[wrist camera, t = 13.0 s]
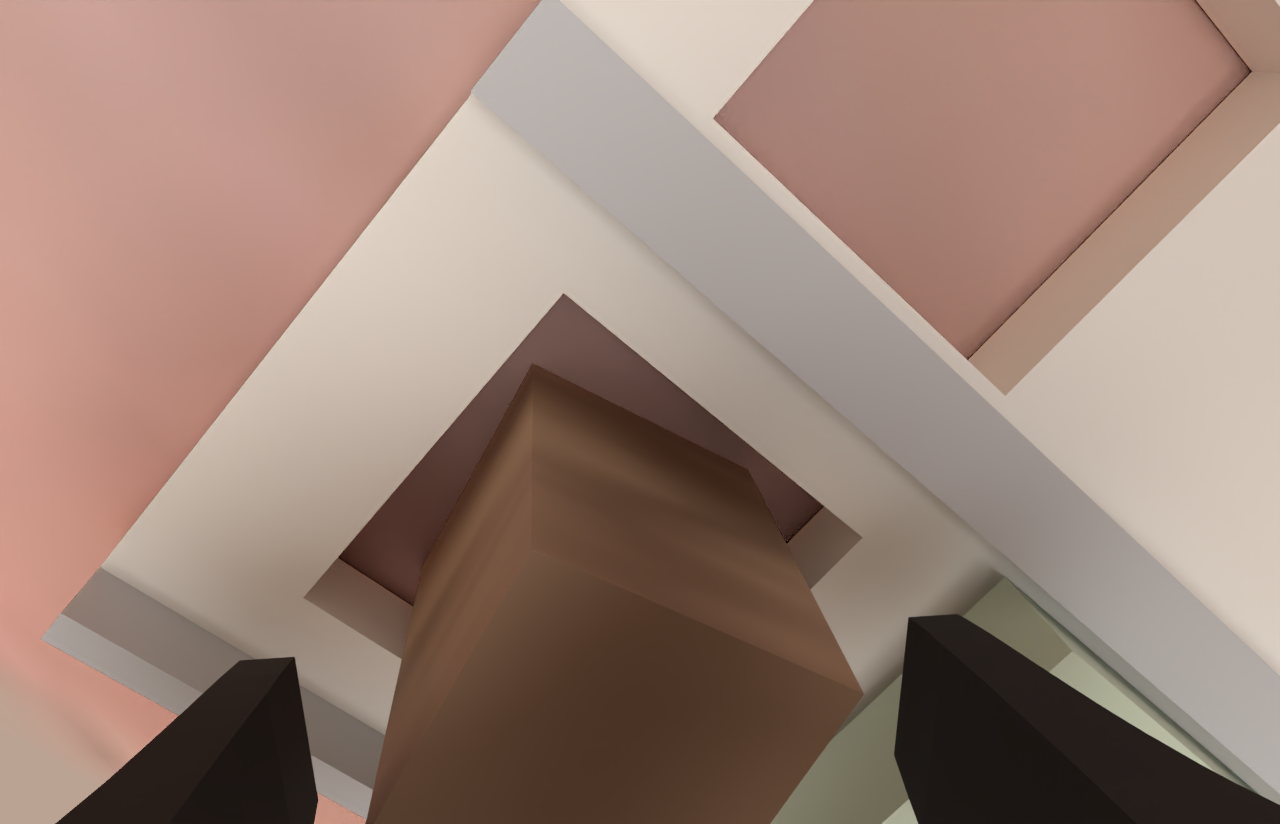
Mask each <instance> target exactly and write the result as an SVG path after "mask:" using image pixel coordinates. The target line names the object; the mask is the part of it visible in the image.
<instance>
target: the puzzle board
mask: <svg viewBox="0 0 1280 824" xmlns="http://www.w3.org/2000/svg"><path fill="white" fill-rule="evenodd" d="M1196 1H1197V2H1198V3H1199V5H1200V6H1201V7H1202V8H1203V10H1204V11H1205V12H1206V14H1207V15H1208V16H1209V17H1210V19H1211V20H1212V21H1213V22H1214V24H1215V25H1216V26H1217V28H1218V29H1219V30H1220V31H1221V33H1222V34H1223V35H1224V36H1225V38H1226V39H1227V40H1228V42H1229V43H1230V44H1231V45H1232V47H1233V48H1234V49H1235V50H1236V52H1237V53H1238V54H1239V56H1240V57H1241V58H1242V59H1243V61H1244V62H1245V63H1246V65H1247V66H1248V67H1249V68H1250V70H1251V71H1252V72H1251V73H1250V74H1249V75H1248V76H1247V77H1246V78H1245V79H1244V80H1243V81H1242V82H1241V83H1240V84H1239V85H1238V86H1237V87H1236V88H1235V89H1234V90H1233V91H1232V92H1231V93H1230V94H1229V95H1228V96H1227V97H1226V99H1225V100H1224V101H1223V102H1222V103H1221V104H1220V105H1219V106H1218V107H1217V108H1216V109H1215V110H1214V111H1213V112H1212V113H1211V114H1210V115H1209V116H1208V117H1207V118H1206V119H1205V120H1204V121H1203V122H1202V123H1201V124H1200V125H1199V126H1198V127H1197V128H1196V129H1195V130H1194V131H1193V132H1192V133H1191V134H1190V135H1189V136H1188V137H1187V138H1186V139H1185V140H1184V141H1183V142H1182V143H1181V144H1180V145H1179V146H1178V147H1177V148H1176V149H1175V150H1174V151H1173V152H1172V153H1171V154H1170V155H1169V156H1168V157H1167V158H1166V159H1165V160H1164V161H1163V162H1162V163H1161V165H1160V166H1159V167H1158V168H1157V169H1156V170H1155V171H1154V172H1153V173H1152V174H1151V175H1150V176H1149V177H1148V178H1147V179H1146V180H1145V181H1144V182H1143V183H1142V184H1141V185H1140V186H1139V187H1138V188H1137V189H1136V190H1135V191H1134V192H1133V193H1132V194H1131V195H1130V196H1129V197H1128V198H1127V199H1126V200H1125V201H1124V202H1123V203H1122V204H1121V205H1120V206H1119V207H1118V208H1117V209H1116V210H1115V211H1114V212H1113V213H1112V214H1111V215H1110V216H1109V217H1108V218H1107V219H1106V220H1105V221H1104V222H1103V223H1102V224H1101V225H1100V226H1099V227H1098V228H1097V229H1096V231H1095V232H1094V233H1093V234H1092V235H1091V236H1090V237H1089V238H1088V239H1087V240H1086V241H1085V242H1084V243H1083V244H1082V245H1081V246H1080V247H1079V248H1078V249H1077V250H1076V251H1075V252H1074V253H1073V254H1072V255H1071V256H1070V257H1069V258H1068V259H1067V260H1066V261H1065V262H1064V263H1063V264H1062V265H1061V266H1060V267H1059V268H1058V269H1057V270H1056V271H1055V272H1054V273H1053V274H1052V275H1051V276H1050V277H1049V278H1048V279H1047V280H1046V281H1045V282H1044V283H1043V284H1042V285H1041V286H1040V287H1039V288H1038V289H1037V290H1036V291H1035V292H1034V293H1033V294H1032V295H1031V296H1030V298H1029V299H1028V300H1027V301H1026V302H1025V303H1024V304H1023V305H1022V306H1021V307H1020V308H1019V309H1018V310H1017V311H1016V312H1015V313H1014V314H1013V315H1012V316H1011V317H1010V318H1009V319H1008V320H1007V321H1006V322H1005V323H1004V324H1003V325H1002V326H1001V327H1000V328H999V329H998V330H997V331H996V332H995V333H994V334H993V335H992V336H991V337H990V338H989V339H988V340H987V341H986V342H985V343H984V344H983V345H982V346H981V347H980V348H979V349H978V350H977V351H976V352H975V353H974V354H973V355H972V356H971V357H970V358H969V359H968V360H967V359H966V358H965V357H964V356H963V355H962V354H960V353H959V352H958V351H957V350H956V349H955V348H954V347H953V346H952V345H951V344H950V343H949V342H948V341H947V340H946V339H945V338H944V337H943V336H942V335H940V334H939V333H938V332H937V331H936V330H935V329H934V328H933V327H932V326H931V325H930V324H929V323H928V322H927V321H926V320H925V319H924V318H923V317H922V316H920V315H919V314H918V313H917V312H916V311H915V310H914V309H913V308H912V307H911V306H910V305H909V304H908V303H907V302H906V301H905V300H904V299H903V298H901V297H900V296H899V295H898V294H897V293H896V292H895V291H894V290H893V289H892V288H891V287H890V286H889V285H888V284H887V283H886V282H885V281H884V280H883V279H881V278H880V277H879V276H878V275H877V274H876V273H875V272H874V271H873V270H872V269H871V268H870V267H869V266H868V265H867V264H866V263H865V262H864V261H863V260H861V259H860V258H859V257H858V256H857V255H856V254H855V253H854V252H853V251H852V250H851V249H850V248H849V247H848V246H847V245H846V244H845V243H844V242H842V241H841V240H840V239H839V238H838V237H837V236H836V235H835V234H834V233H833V232H832V231H831V230H830V229H829V228H828V227H827V226H826V225H825V224H824V223H822V222H821V221H820V220H819V219H818V218H817V217H816V216H815V215H814V214H813V213H812V212H811V211H810V210H809V209H808V208H807V207H806V206H805V205H803V204H802V203H801V202H800V201H799V200H798V199H797V198H796V197H795V196H794V195H793V194H792V193H791V192H790V191H789V190H788V189H787V188H786V187H785V186H783V185H782V184H781V183H780V182H779V181H778V180H777V179H776V178H775V177H774V176H773V175H772V174H771V173H770V172H769V171H768V170H767V169H766V168H765V167H763V166H762V165H761V164H760V163H759V162H758V161H757V160H756V159H755V158H754V157H753V156H752V155H751V154H750V153H749V152H748V151H747V150H746V149H744V148H743V147H742V146H741V145H740V144H739V143H738V142H737V141H736V140H735V139H734V138H733V137H732V136H731V135H730V134H729V133H728V132H727V131H726V130H724V129H723V128H722V127H721V126H720V125H719V124H718V123H717V122H716V121H715V120H714V119H713V118H714V116H715V115H716V114H717V113H718V112H719V111H720V109H721V108H722V107H723V106H724V105H725V104H726V102H727V101H728V100H729V99H730V98H731V96H732V95H733V94H734V93H735V92H736V91H737V89H738V88H739V87H740V86H741V85H742V84H743V82H744V81H745V80H746V79H747V78H748V77H749V75H750V74H751V73H752V72H753V71H754V70H755V68H756V67H757V66H758V65H759V64H760V63H761V61H762V60H763V59H764V58H765V57H766V56H767V54H768V53H769V52H770V51H771V50H772V48H773V47H774V46H775V45H776V44H777V43H778V41H779V40H780V39H781V38H782V37H783V36H784V34H785V33H786V32H787V31H788V30H789V29H790V27H791V26H792V25H793V24H794V23H795V22H796V20H797V19H798V18H799V17H800V16H801V15H802V13H803V12H804V11H805V10H806V9H807V8H808V6H809V5H810V4H811V3H812V2H813V0H542V1H541V2H540V3H539V4H538V6H537V7H536V8H535V9H534V11H533V12H532V13H531V15H530V16H529V17H528V18H527V20H526V21H525V22H524V23H523V25H522V26H521V27H520V29H519V30H518V31H517V32H516V34H515V35H514V36H513V38H512V39H511V40H510V41H509V43H508V44H507V45H506V46H505V48H504V49H503V50H502V52H501V53H500V54H499V55H498V57H497V58H496V59H495V60H494V62H493V63H492V64H491V66H490V67H489V68H488V69H487V71H486V72H485V73H484V74H483V76H482V77H481V78H480V80H479V81H478V82H477V83H476V85H475V86H474V87H473V89H472V90H471V91H470V92H471V93H472V94H471V95H470V97H469V98H468V99H467V100H466V102H465V103H464V104H463V105H462V107H461V108H460V109H459V111H458V112H457V113H456V114H455V116H454V117H453V118H452V119H451V121H450V122H449V123H448V125H447V126H446V127H445V128H444V130H443V131H442V132H441V133H440V135H439V136H438V137H437V139H436V140H435V141H434V142H433V144H432V145H431V146H430V147H429V149H428V150H427V151H426V153H425V154H424V155H423V156H422V158H421V159H420V160H419V161H418V163H417V164H416V165H415V167H414V168H413V169H412V170H411V172H410V173H409V174H408V175H407V177H406V178H405V179H404V181H403V182H402V183H401V184H400V186H399V187H398V188H397V189H396V191H395V192H394V193H393V195H392V196H391V197H390V198H389V200H388V201H387V202H386V204H385V205H384V206H383V207H382V209H381V210H380V211H379V212H378V214H377V215H376V216H375V218H374V219H373V220H372V221H371V223H370V224H369V225H368V226H367V228H366V229H365V230H364V232H363V233H362V234H361V235H360V237H359V238H358V239H357V240H356V242H355V243H354V244H353V246H352V247H351V248H350V249H349V251H348V252H347V253H346V254H345V256H344V257H343V258H342V260H341V261H340V262H339V263H338V265H337V266H336V267H335V268H334V270H333V271H332V272H331V274H330V275H329V276H328V277H327V279H326V280H325V281H324V282H323V284H322V285H321V286H320V288H319V289H318V290H317V291H316V293H315V294H314V295H313V296H312V298H311V299H310V300H309V302H308V303H307V304H306V305H305V307H304V308H303V309H302V310H301V312H300V313H299V314H298V316H297V317H296V318H295V319H294V321H293V322H292V323H291V325H290V326H289V327H288V328H287V330H286V331H285V332H284V333H283V335H282V336H281V337H280V339H279V340H278V341H277V342H276V344H275V345H274V346H273V347H272V349H271V350H270V351H269V353H268V354H267V355H266V356H265V358H264V359H263V360H262V361H261V363H260V364H259V365H258V367H257V368H256V369H255V370H254V372H253V373H252V374H251V375H250V377H249V378H248V379H247V381H246V382H245V383H244V384H243V386H242V387H241V388H240V389H239V391H238V392H237V393H236V395H235V396H234V397H233V398H232V400H231V401H230V402H229V403H228V405H227V406H226V407H225V409H224V410H223V411H222V412H221V414H220V415H219V416H218V417H217V419H216V420H215V421H214V423H213V424H212V425H211V426H210V428H209V429H208V430H207V431H206V433H205V434H204V435H203V437H202V438H201V439H200V440H199V442H198V443H197V444H196V446H195V447H194V448H193V449H192V451H191V452H190V453H189V454H188V456H187V457H186V458H185V460H184V461H183V462H182V463H181V465H180V466H179V467H178V468H177V470H176V471H175V472H174V474H173V475H172V476H171V477H170V479H169V480H168V481H167V482H166V484H165V485H164V486H163V488H162V489H161V490H160V491H159V493H158V494H157V495H156V496H155V498H154V499H153V500H152V502H151V503H150V504H149V505H148V507H147V508H146V509H145V510H144V512H143V513H142V514H141V516H140V517H139V518H138V519H137V521H136V522H135V523H134V524H133V526H132V527H131V528H130V530H129V531H128V532H127V533H126V535H125V536H124V537H123V538H122V540H121V541H120V542H119V544H118V545H117V546H116V547H115V549H114V550H113V551H112V552H111V554H110V555H109V556H108V558H107V559H106V560H105V561H104V563H103V564H102V565H101V567H100V568H99V569H98V570H97V571H96V572H95V574H94V575H93V576H92V577H91V578H90V580H89V581H88V582H87V583H86V584H85V585H84V587H83V588H82V589H81V590H80V591H79V593H78V594H77V595H76V596H75V597H74V598H73V600H72V601H71V602H70V603H69V604H68V606H67V607H66V608H65V609H64V610H63V611H62V613H61V614H60V615H59V616H58V618H57V619H56V620H55V622H54V623H53V624H52V625H51V627H50V628H49V629H48V630H47V632H46V633H45V634H44V636H43V637H42V638H41V640H43V641H45V642H47V643H48V644H50V645H52V646H54V647H56V648H57V649H59V650H61V651H63V652H65V653H66V654H68V655H70V656H72V657H74V658H75V659H77V660H79V661H81V662H83V663H85V664H86V665H88V666H90V667H92V668H94V669H95V670H97V671H99V672H101V673H103V674H104V675H106V676H108V677H110V678H112V679H113V680H115V681H117V682H119V683H121V684H122V685H124V686H126V687H128V688H130V689H132V690H133V691H135V692H137V693H139V694H141V695H142V696H144V697H146V698H148V699H150V700H151V701H153V702H155V703H157V704H159V705H160V706H162V707H164V708H166V709H168V710H169V711H171V712H173V713H175V714H177V715H180V714H181V713H182V712H183V711H185V710H186V709H187V708H188V707H189V706H190V705H191V704H192V703H193V702H194V701H195V700H196V699H197V698H198V697H200V696H201V695H202V694H203V693H204V692H205V691H206V690H207V689H208V688H209V687H210V686H211V685H212V684H214V683H215V682H216V681H217V680H218V679H219V678H220V677H221V676H222V675H223V674H225V673H226V672H227V671H228V670H229V669H230V668H231V667H233V666H234V665H235V664H236V663H237V662H238V661H240V660H252V659H268V658H283V657H295V661H296V668H297V674H298V680H299V686H300V692H301V698H302V704H303V710H304V716H305V723H306V729H307V735H308V741H309V747H310V753H311V759H312V765H313V771H314V777H315V784H316V790H317V792H318V793H319V794H321V795H323V796H325V797H327V798H328V799H330V800H332V801H334V802H336V803H338V804H339V805H341V806H343V807H345V808H347V809H348V810H350V811H352V812H354V813H356V814H357V815H359V816H361V817H363V818H365V819H366V820H367V815H368V811H369V806H370V802H371V797H372V792H373V788H374V783H375V779H376V774H377V770H378V765H379V761H380V756H381V751H382V747H383V742H384V738H385V733H386V729H387V724H388V720H389V715H390V711H391V706H392V701H393V697H394V692H395V688H396V683H397V679H398V674H399V670H400V665H401V660H402V656H403V651H404V647H405V642H406V638H407V633H408V629H409V624H410V620H411V615H412V610H413V606H411V605H410V604H408V603H407V602H405V601H404V600H402V599H401V598H399V597H398V596H396V595H394V594H393V593H391V592H390V591H388V590H387V589H385V588H384V587H382V586H381V585H379V584H377V583H376V582H374V581H373V580H371V579H370V578H368V577H367V576H365V575H363V574H362V573H360V572H359V571H357V570H356V569H354V568H353V567H351V566H350V565H348V564H346V563H345V562H343V561H342V560H340V559H339V558H338V557H339V555H340V554H341V553H342V552H343V551H344V550H345V548H346V547H347V546H348V545H349V544H350V543H351V541H352V540H353V539H354V538H355V537H356V536H357V534H358V533H359V532H360V531H361V530H362V528H363V527H364V526H365V525H366V524H367V523H368V521H369V520H370V519H371V518H372V517H373V516H374V514H375V513H376V512H377V511H378V510H379V509H380V507H381V506H382V505H383V504H384V503H385V502H386V500H387V499H388V498H389V497H390V496H391V495H392V493H393V492H394V491H395V490H396V489H397V488H398V486H399V485H400V484H401V483H402V482H403V480H404V479H405V478H406V477H407V476H408V475H409V473H410V472H411V471H412V470H413V469H414V468H415V466H416V465H417V464H418V463H419V462H420V461H421V459H422V458H423V457H424V456H425V455H426V454H427V452H428V451H429V450H430V449H431V448H432V447H433V445H434V444H435V443H436V442H437V441H438V440H439V438H440V437H441V436H442V435H443V434H444V432H445V431H446V430H447V429H448V428H449V427H450V425H451V424H452V423H453V422H454V421H455V420H456V418H457V417H458V416H459V415H460V414H461V413H462V411H463V410H464V409H465V408H466V407H467V406H468V404H469V403H470V402H471V401H472V400H473V399H474V397H475V396H476V395H477V394H478V393H479V392H480V390H481V389H482V388H483V387H484V386H485V384H486V383H487V382H488V381H489V380H490V379H491V377H492V376H493V375H494V374H495V373H496V372H497V370H498V369H499V368H500V367H501V366H502V365H503V363H504V362H505V361H506V360H507V359H508V358H509V356H510V355H511V354H512V353H513V352H514V351H515V349H516V348H517V347H518V346H519V345H520V344H521V342H522V341H523V340H524V339H525V338H526V336H527V335H528V334H529V333H530V332H531V331H532V329H533V328H534V327H535V326H536V325H537V324H538V322H539V321H540V320H541V319H542V318H543V317H544V315H545V314H546V313H547V312H548V311H549V310H550V308H551V307H552V306H553V305H554V304H555V303H556V301H557V300H558V299H559V298H560V297H561V296H562V294H563V293H564V294H565V295H567V296H568V297H569V298H570V299H571V300H573V301H574V302H575V303H576V304H578V305H579V306H580V307H581V308H583V309H584V310H585V311H586V312H587V313H589V314H590V315H591V316H592V317H594V318H595V319H596V320H597V321H598V322H600V323H601V324H602V325H603V326H605V327H606V328H607V329H608V330H609V331H611V332H612V333H613V334H614V335H616V336H617V337H618V338H619V339H620V340H622V341H623V342H624V343H625V344H627V345H628V346H629V347H630V348H631V349H633V350H634V351H635V352H636V353H638V354H639V355H640V356H641V357H642V358H644V359H645V360H646V361H647V362H649V363H650V364H651V365H652V366H653V367H655V368H656V369H657V370H658V371H660V372H661V373H662V374H663V375H664V376H666V377H667V378H668V379H669V380H671V381H672V382H673V383H674V384H675V385H677V386H678V387H679V388H680V389H682V390H683V391H684V392H685V393H686V394H688V395H689V396H690V397H691V398H693V399H694V400H695V401H696V402H697V403H699V404H700V405H701V406H702V407H704V408H705V409H706V410H707V411H708V412H710V413H711V414H712V415H713V416H715V417H716V418H717V419H718V420H719V421H721V422H722V423H723V424H724V425H726V426H727V427H728V428H729V429H730V430H732V431H733V432H734V433H735V434H737V435H738V436H739V437H740V438H742V439H743V440H744V441H745V442H746V443H748V444H749V445H750V446H751V447H753V448H754V449H755V450H756V451H757V452H759V453H760V454H761V455H762V456H764V457H765V458H766V459H767V460H768V461H770V462H771V463H772V464H773V465H775V466H776V467H777V468H778V469H779V470H781V471H782V472H783V473H784V474H786V475H787V476H788V477H789V478H790V479H792V480H793V481H794V482H795V483H797V484H798V485H799V486H800V487H801V488H803V489H804V490H805V491H806V492H808V493H809V494H810V495H811V496H812V497H814V498H815V499H816V500H817V501H819V502H820V503H821V504H822V505H823V506H824V507H823V508H822V509H821V510H820V511H819V512H818V513H817V514H816V515H815V516H814V517H813V518H812V519H811V520H810V521H809V522H808V523H807V524H806V525H805V526H804V527H803V528H802V529H801V530H800V531H799V532H798V533H797V534H796V535H795V536H794V537H793V538H792V539H791V540H790V541H789V542H788V543H787V546H788V548H789V550H790V552H791V554H792V556H793V558H794V560H795V562H796V563H797V565H798V567H799V569H800V571H801V573H802V575H803V577H804V579H805V581H806V583H807V585H808V587H809V589H810V590H811V592H812V594H813V596H814V598H815V600H816V602H817V604H818V606H819V608H820V610H821V612H822V614H823V616H824V617H825V619H826V621H827V623H828V625H829V627H830V629H831V631H832V633H833V635H834V637H835V639H836V641H837V643H838V644H839V646H840V648H841V650H842V652H843V654H844V656H845V658H846V660H847V662H848V664H849V666H850V668H851V670H852V671H853V673H854V675H855V677H856V679H857V681H858V683H859V685H860V687H861V689H862V691H863V693H864V695H863V696H862V698H861V699H860V700H859V702H858V703H857V705H856V706H855V707H854V709H853V710H852V711H851V713H850V714H849V716H848V717H847V718H846V720H845V721H844V723H843V724H842V725H841V727H840V728H839V729H838V731H837V732H836V734H835V735H834V736H833V738H834V737H835V736H836V735H837V734H839V733H840V732H841V731H842V730H843V729H844V728H845V727H846V726H847V725H848V724H849V723H850V722H851V721H852V720H853V719H854V718H856V717H857V716H858V715H859V714H860V713H861V712H862V711H863V710H864V709H865V708H866V707H867V706H868V705H869V704H870V703H871V702H872V701H874V700H875V699H876V698H877V697H878V696H879V695H880V694H881V693H882V692H883V691H884V690H885V689H886V688H887V687H888V686H889V685H890V684H892V683H893V682H894V681H895V680H896V679H897V678H898V677H899V676H900V675H901V674H902V673H903V664H904V654H905V645H906V635H907V626H908V617H918V616H934V615H949V614H958V615H960V616H962V617H963V616H964V615H965V614H966V613H967V612H968V611H969V610H970V609H971V608H972V607H973V606H974V605H975V604H976V603H977V602H979V601H980V600H981V599H982V598H983V597H984V596H985V595H986V594H987V593H988V592H989V591H990V590H991V589H992V588H993V587H994V586H995V585H997V584H998V583H999V582H1000V581H1001V580H1002V579H1003V578H1004V577H1006V578H1008V579H1009V580H1010V581H1011V582H1012V583H1013V584H1015V585H1016V586H1017V587H1018V588H1019V589H1020V590H1022V591H1023V592H1024V593H1025V594H1026V595H1027V596H1029V597H1030V598H1031V599H1032V600H1033V601H1034V602H1036V603H1037V604H1038V605H1039V606H1040V607H1041V608H1043V609H1044V610H1045V611H1046V612H1047V613H1048V614H1050V615H1051V616H1052V617H1053V618H1054V619H1055V620H1057V621H1058V622H1059V623H1060V624H1061V625H1062V626H1064V627H1065V628H1066V629H1067V630H1068V631H1069V632H1071V633H1072V634H1073V635H1074V636H1075V637H1076V638H1078V639H1079V640H1080V641H1081V642H1082V643H1083V644H1085V645H1086V646H1087V647H1088V648H1089V649H1090V650H1092V651H1093V652H1094V653H1095V654H1096V655H1097V656H1099V657H1100V658H1101V659H1102V660H1103V661H1104V662H1106V663H1107V664H1108V665H1109V666H1110V667H1111V668H1113V669H1114V670H1115V671H1116V672H1117V673H1118V674H1120V675H1121V676H1122V677H1123V678H1124V679H1125V680H1127V681H1128V682H1129V683H1130V684H1131V685H1132V686H1134V687H1135V688H1136V689H1137V690H1138V691H1139V692H1141V693H1142V694H1143V695H1144V696H1145V697H1146V698H1148V699H1149V700H1150V701H1151V702H1152V703H1153V704H1155V705H1156V706H1157V707H1158V708H1159V709H1160V710H1162V711H1163V712H1164V713H1165V714H1166V715H1167V716H1169V717H1170V718H1171V719H1172V720H1173V721H1174V722H1176V723H1177V724H1178V725H1179V726H1180V727H1181V728H1183V729H1184V730H1185V731H1186V732H1187V733H1188V734H1190V735H1191V736H1192V737H1193V738H1194V739H1195V740H1197V741H1198V742H1199V743H1200V744H1201V745H1202V746H1204V747H1205V748H1206V749H1207V750H1208V751H1209V752H1211V753H1212V754H1213V755H1214V756H1215V757H1216V758H1218V759H1219V760H1220V761H1221V762H1222V763H1223V764H1225V765H1226V766H1227V767H1228V768H1229V769H1230V770H1232V771H1233V772H1234V773H1235V774H1236V775H1237V776H1239V777H1240V778H1241V779H1242V780H1243V781H1244V782H1246V783H1247V784H1248V785H1249V786H1250V787H1251V788H1253V789H1254V790H1255V791H1256V792H1257V793H1258V794H1260V795H1261V796H1263V797H1265V798H1267V799H1269V800H1271V801H1273V802H1275V803H1277V804H1279V805H1280V0H1196ZM833 738H832V739H833ZM832 739H831V740H832Z"/></svg>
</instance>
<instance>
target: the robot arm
mask: <svg viewBox="0 0 1280 824" xmlns="http://www.w3.org/2000/svg"><path fill="white" fill-rule="evenodd" d="M894 757H895V760H896V763H897V765H898V768H899V771H900V774H901V777H902V780H903V783H904V786H905V789H906V792H907V795H908V798H909V800H910V803H911V806H912V808H913V811H914V814H915V816H916V819H917V822H918V824H1280V805H1279V804H1277V803H1275V802H1273V801H1271V800H1269V799H1267V798H1265V797H1263V796H1261V795H1259V794H1257V793H1255V792H1253V791H1251V790H1249V789H1247V788H1245V787H1243V786H1240V785H1238V784H1236V783H1235V782H1233V781H1231V780H1229V779H1227V778H1225V777H1223V776H1221V775H1219V774H1218V773H1216V772H1214V771H1212V770H1210V769H1208V768H1206V767H1205V766H1203V765H1201V764H1199V763H1197V762H1196V761H1194V760H1192V759H1190V758H1189V757H1187V756H1185V755H1183V754H1182V753H1180V752H1178V751H1176V750H1175V749H1173V748H1171V747H1169V746H1168V745H1166V744H1164V743H1162V742H1161V741H1159V740H1157V739H1155V738H1154V737H1152V736H1150V735H1148V734H1147V733H1145V732H1143V731H1142V730H1140V729H1138V728H1137V727H1135V726H1133V725H1132V724H1130V723H1129V722H1127V721H1125V720H1124V719H1122V718H1120V717H1119V716H1117V715H1115V714H1114V713H1112V712H1111V711H1109V710H1107V709H1106V708H1104V707H1103V706H1101V705H1099V704H1098V703H1096V702H1095V701H1093V700H1091V699H1090V698H1088V697H1087V696H1085V695H1084V694H1082V693H1081V692H1079V691H1077V690H1076V689H1074V688H1073V687H1071V686H1070V685H1068V684H1067V683H1065V682H1063V681H1062V680H1060V679H1059V678H1057V677H1056V676H1054V675H1053V674H1051V673H1050V672H1048V671H1047V670H1045V669H1044V668H1042V667H1041V666H1039V665H1038V664H1036V663H1034V662H1033V661H1031V660H1030V659H1028V658H1027V657H1025V656H1024V655H1022V654H1021V653H1019V652H1018V651H1016V650H1015V649H1013V648H1012V647H1010V646H1009V645H1007V644H1006V643H1004V642H1003V641H1001V640H999V639H998V638H996V637H995V636H993V635H992V634H990V633H989V632H987V631H985V630H984V629H982V628H981V627H979V626H977V625H976V624H974V623H972V622H971V621H969V620H967V619H966V618H964V617H962V616H960V615H958V614H949V615H934V616H918V617H908V626H907V635H906V645H905V654H904V664H903V673H902V683H901V692H900V702H899V711H898V721H897V730H896V740H895V749H894ZM317 803H318V796H317V790H316V784H315V777H314V771H313V765H312V759H311V753H310V747H309V741H308V735H307V729H306V723H305V716H304V710H303V704H302V698H301V692H300V686H299V680H298V674H297V668H296V661H295V657H283V658H268V659H252V660H240V661H238V662H237V663H236V664H235V665H234V666H233V667H231V668H230V669H229V670H228V671H227V672H226V673H225V674H223V675H222V676H221V677H220V678H219V679H218V680H217V681H216V682H215V683H214V684H212V685H211V686H210V687H209V688H208V689H207V690H206V691H205V692H204V693H203V694H202V695H201V696H200V697H198V698H197V699H196V700H195V701H194V702H193V703H192V704H191V705H190V706H189V707H188V708H187V709H186V710H185V711H183V712H182V713H181V714H180V715H179V716H178V717H177V718H176V719H175V720H174V721H173V722H172V723H171V724H170V725H168V726H167V727H166V728H165V729H164V730H163V731H162V732H161V733H160V734H159V735H157V736H156V737H155V738H154V739H153V740H152V741H151V742H150V743H149V744H147V745H146V746H145V747H144V748H143V749H142V750H141V751H140V752H139V753H138V754H136V755H135V756H134V757H133V758H132V759H131V760H130V761H129V762H128V763H126V764H125V765H124V766H123V767H122V768H121V769H120V770H119V771H118V772H116V773H115V774H114V775H113V776H112V777H111V778H110V779H109V780H107V781H106V782H105V783H104V784H103V785H101V786H100V787H99V788H98V789H97V790H95V791H94V792H93V793H92V794H91V795H89V796H88V797H87V798H86V799H85V800H84V801H82V802H81V803H80V804H79V805H77V806H76V807H75V808H74V809H73V810H71V811H70V812H69V813H68V814H67V815H65V816H64V817H63V818H62V819H61V820H59V821H58V822H57V823H56V824H314V820H315V814H316V809H317Z"/></svg>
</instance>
